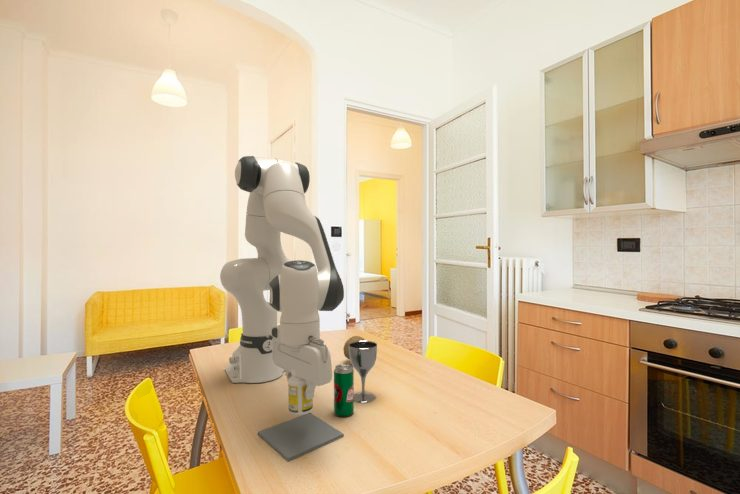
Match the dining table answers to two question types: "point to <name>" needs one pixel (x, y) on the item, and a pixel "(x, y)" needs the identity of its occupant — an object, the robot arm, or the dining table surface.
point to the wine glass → (363, 365)
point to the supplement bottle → (298, 396)
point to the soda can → (343, 390)
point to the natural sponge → (346, 346)
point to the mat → (299, 436)
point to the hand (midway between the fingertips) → (300, 393)
